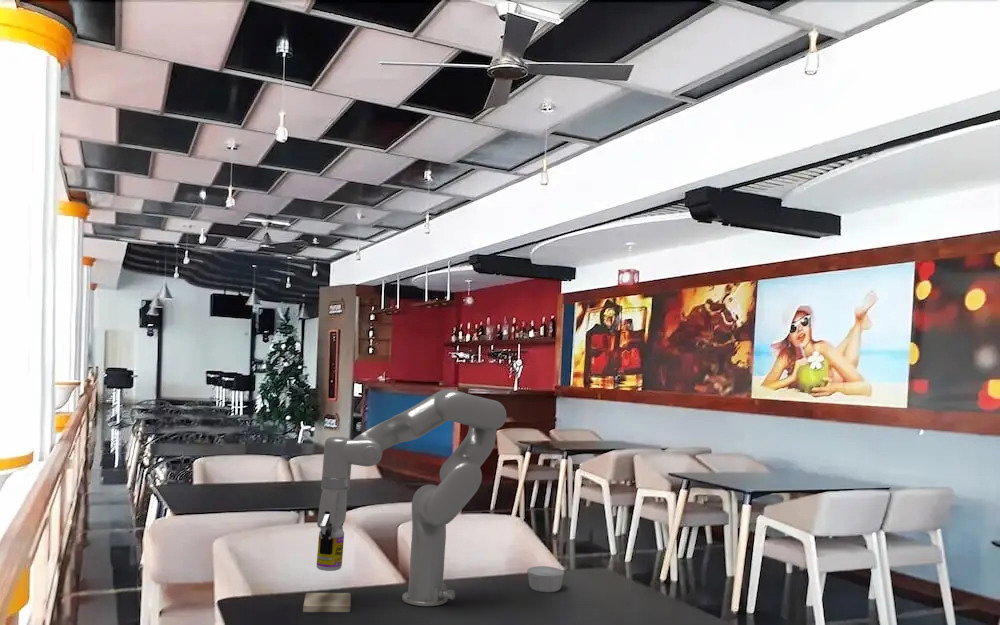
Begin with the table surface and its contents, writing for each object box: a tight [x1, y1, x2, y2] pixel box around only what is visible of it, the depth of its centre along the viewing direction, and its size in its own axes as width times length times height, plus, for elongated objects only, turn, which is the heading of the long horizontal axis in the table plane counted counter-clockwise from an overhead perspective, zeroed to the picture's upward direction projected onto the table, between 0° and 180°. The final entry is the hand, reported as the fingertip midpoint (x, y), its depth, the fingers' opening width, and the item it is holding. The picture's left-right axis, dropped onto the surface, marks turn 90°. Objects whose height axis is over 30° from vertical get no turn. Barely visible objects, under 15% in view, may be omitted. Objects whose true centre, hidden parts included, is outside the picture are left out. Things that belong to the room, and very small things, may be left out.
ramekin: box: [526, 565, 565, 593], centre depth 241 cm, size 11×11×5 cm
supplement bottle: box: [316, 521, 345, 572], centre depth 213 cm, size 7×7×13 cm
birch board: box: [302, 592, 352, 613], centre depth 212 cm, size 12×12×2 cm
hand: (330, 550), depth 213 cm, fingers closed on supplement bottle, 6 cm apart
